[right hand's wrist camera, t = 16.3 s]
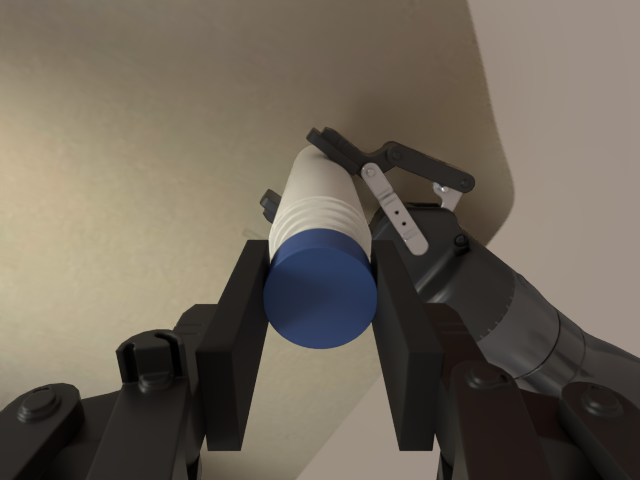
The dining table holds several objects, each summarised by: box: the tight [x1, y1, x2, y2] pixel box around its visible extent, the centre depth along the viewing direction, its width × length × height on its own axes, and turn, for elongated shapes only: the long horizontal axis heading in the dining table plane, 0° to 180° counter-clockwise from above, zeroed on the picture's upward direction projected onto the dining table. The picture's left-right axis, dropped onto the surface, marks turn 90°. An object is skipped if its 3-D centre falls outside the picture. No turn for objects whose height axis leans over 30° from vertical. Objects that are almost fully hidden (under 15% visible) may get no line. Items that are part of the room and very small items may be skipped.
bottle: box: [269, 144, 372, 260], centre depth 23 cm, size 4×4×21 cm
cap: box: [263, 228, 377, 349], centre depth 14 cm, size 4×4×2 cm
